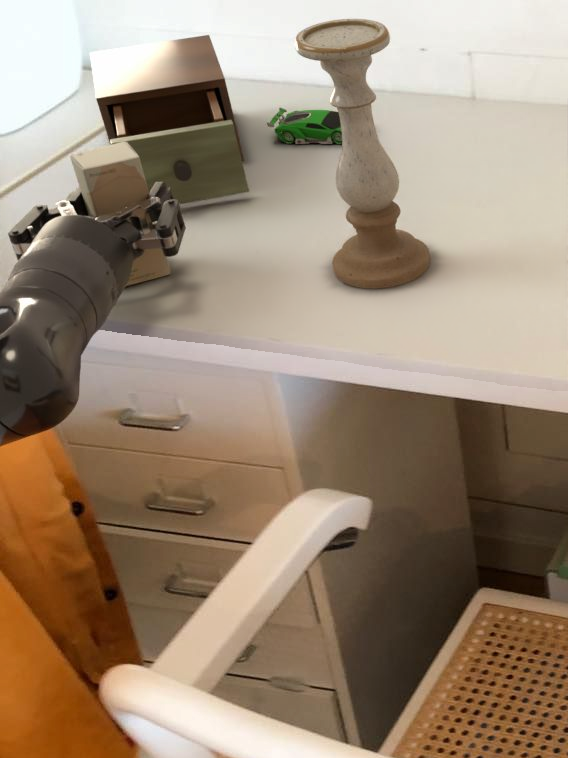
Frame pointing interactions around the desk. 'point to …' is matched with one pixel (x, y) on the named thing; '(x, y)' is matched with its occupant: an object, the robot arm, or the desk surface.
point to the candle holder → (363, 159)
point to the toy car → (308, 126)
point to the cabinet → (157, 75)
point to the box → (117, 195)
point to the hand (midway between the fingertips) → (125, 193)
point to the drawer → (183, 144)
